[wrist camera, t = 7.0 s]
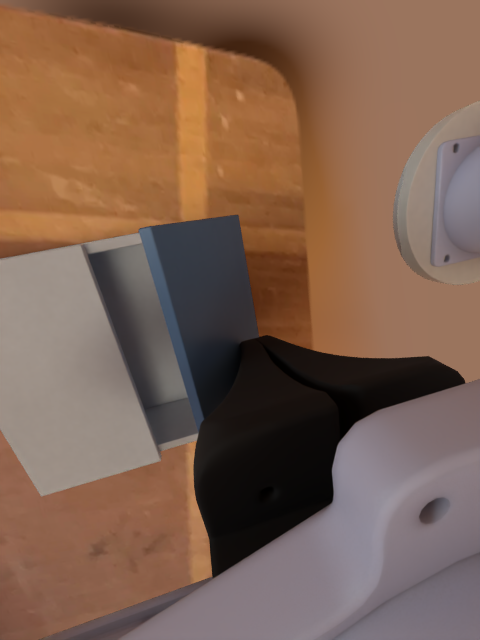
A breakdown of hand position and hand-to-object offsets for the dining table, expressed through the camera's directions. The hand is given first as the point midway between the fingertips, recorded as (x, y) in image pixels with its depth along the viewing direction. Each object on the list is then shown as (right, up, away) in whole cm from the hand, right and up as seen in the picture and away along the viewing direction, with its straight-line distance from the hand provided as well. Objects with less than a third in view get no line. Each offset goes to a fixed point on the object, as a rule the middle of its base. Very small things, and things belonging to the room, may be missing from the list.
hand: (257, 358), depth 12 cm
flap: (-1, 0, 0) cm, 1 cm away
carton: (-7, +1, +6) cm, 10 cm away
